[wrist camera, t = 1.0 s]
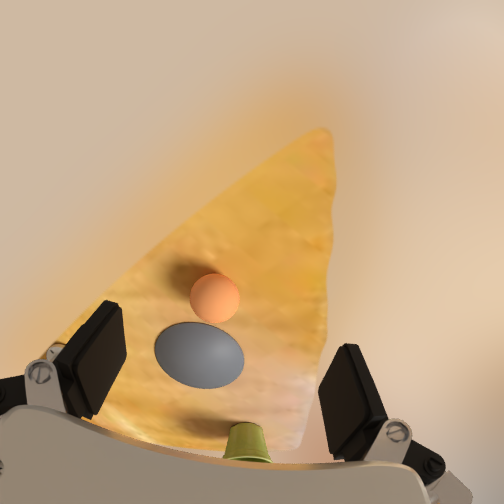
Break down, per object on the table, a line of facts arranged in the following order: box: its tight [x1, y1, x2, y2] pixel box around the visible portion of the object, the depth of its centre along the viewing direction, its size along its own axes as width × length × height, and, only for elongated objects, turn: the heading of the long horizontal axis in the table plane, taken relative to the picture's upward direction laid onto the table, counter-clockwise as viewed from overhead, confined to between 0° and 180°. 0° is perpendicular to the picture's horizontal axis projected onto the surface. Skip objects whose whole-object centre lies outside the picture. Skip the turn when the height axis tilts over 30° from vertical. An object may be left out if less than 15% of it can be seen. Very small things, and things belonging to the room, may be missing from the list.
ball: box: [190, 274, 239, 323], centre depth 30 cm, size 6×6×6 cm
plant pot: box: [222, 423, 273, 463], centre depth 39 cm, size 9×9×9 cm
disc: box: [155, 322, 244, 389], centre depth 36 cm, size 13×13×1 cm
